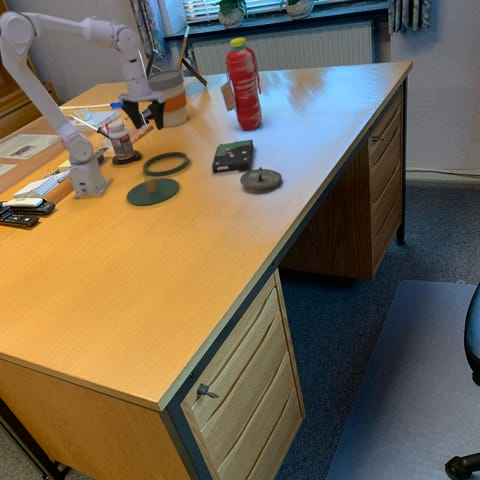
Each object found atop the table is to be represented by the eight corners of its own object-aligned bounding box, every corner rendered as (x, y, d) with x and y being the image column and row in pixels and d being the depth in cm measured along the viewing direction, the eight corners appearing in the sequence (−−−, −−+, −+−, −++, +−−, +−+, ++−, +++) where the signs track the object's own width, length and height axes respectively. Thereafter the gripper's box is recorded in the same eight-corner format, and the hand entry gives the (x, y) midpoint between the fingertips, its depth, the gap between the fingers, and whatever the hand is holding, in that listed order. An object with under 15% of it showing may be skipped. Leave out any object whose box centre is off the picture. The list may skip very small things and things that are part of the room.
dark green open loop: (184, 175, 134) (183, 169, 133) (139, 180, 136) (137, 174, 135) (193, 155, 144) (191, 149, 142) (151, 160, 146) (149, 154, 145)
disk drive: (251, 171, 129) (253, 148, 140) (249, 161, 127) (252, 138, 138) (213, 176, 131) (218, 152, 142) (211, 166, 129) (217, 143, 140)
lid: (239, 187, 126) (231, 171, 123) (271, 167, 126) (265, 151, 123) (255, 205, 119) (247, 189, 115) (289, 183, 119) (283, 166, 115)
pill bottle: (131, 159, 146) (120, 126, 139) (114, 161, 147) (102, 128, 141) (137, 151, 150) (127, 119, 144) (121, 153, 152) (110, 121, 145)
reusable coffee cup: (197, 121, 166) (186, 74, 156) (162, 131, 163) (149, 84, 153) (186, 111, 175) (175, 67, 165) (153, 122, 172) (140, 77, 163)
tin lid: (173, 205, 122) (169, 188, 119) (121, 210, 124) (115, 194, 121) (184, 179, 132) (180, 163, 129) (135, 184, 135) (130, 169, 132)
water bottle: (227, 136, 150) (210, 47, 134) (227, 126, 156) (212, 40, 140) (265, 129, 149) (253, 38, 133) (264, 120, 155) (253, 32, 139)
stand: (137, 165, 145) (135, 161, 145) (109, 168, 147) (108, 164, 146) (144, 152, 152) (143, 148, 151) (118, 155, 154) (116, 152, 153)
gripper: (165, 71, 127) (178, 123, 136) (123, 72, 133) (138, 122, 142) (150, 80, 123) (164, 133, 132) (107, 81, 129) (123, 132, 138)
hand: (150, 128), depth 137 cm, fingers open, 7 cm apart
